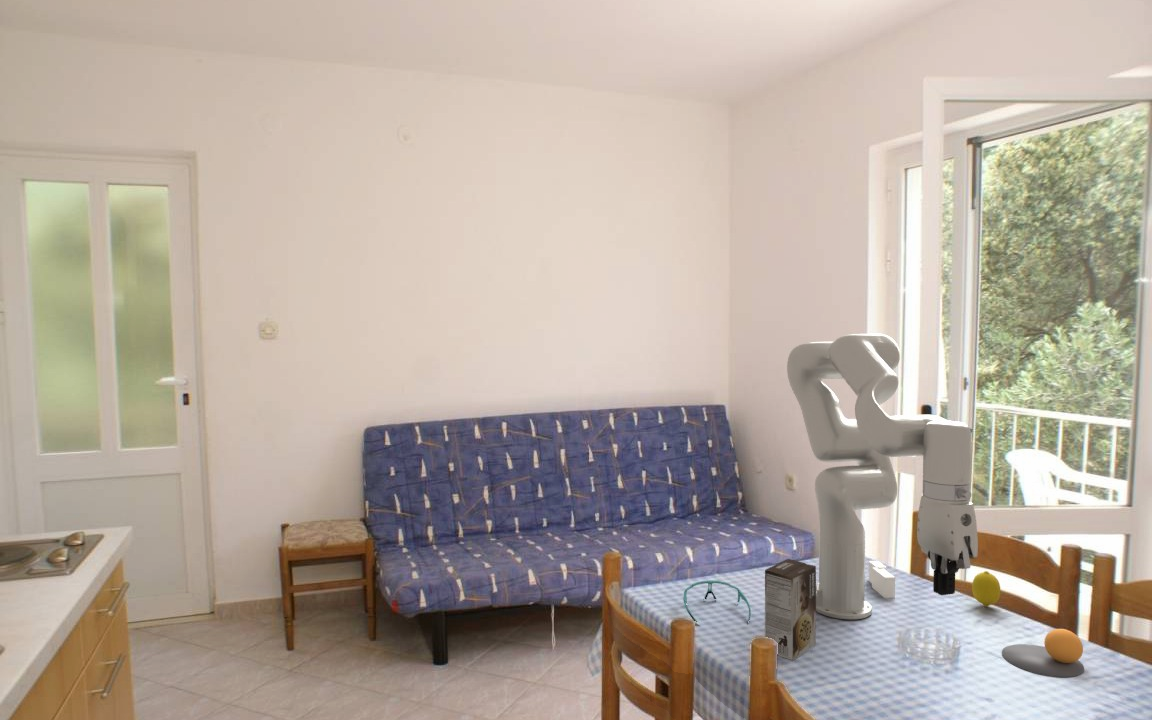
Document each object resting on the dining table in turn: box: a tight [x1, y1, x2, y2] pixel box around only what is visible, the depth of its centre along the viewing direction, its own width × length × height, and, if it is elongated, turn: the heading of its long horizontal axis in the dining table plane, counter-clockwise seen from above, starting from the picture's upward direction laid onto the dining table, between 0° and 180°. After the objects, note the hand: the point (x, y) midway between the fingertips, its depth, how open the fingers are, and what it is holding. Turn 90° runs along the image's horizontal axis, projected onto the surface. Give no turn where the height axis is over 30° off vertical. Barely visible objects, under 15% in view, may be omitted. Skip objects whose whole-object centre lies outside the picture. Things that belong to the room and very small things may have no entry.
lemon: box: [971, 570, 1001, 608], centre depth 164 cm, size 6×6×8 cm
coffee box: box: [764, 558, 817, 661], centre depth 144 cm, size 9×6×16 cm
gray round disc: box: [1001, 643, 1085, 678], centre depth 139 cm, size 13×13×1 cm
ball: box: [1043, 628, 1084, 663], centre depth 138 cm, size 6×6×6 cm
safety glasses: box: [683, 580, 752, 622], centre depth 163 cm, size 14×15×5 cm
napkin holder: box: [868, 560, 896, 599], centre depth 176 cm, size 15×11×6 cm
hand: (944, 592), depth 132 cm, fingers closed
